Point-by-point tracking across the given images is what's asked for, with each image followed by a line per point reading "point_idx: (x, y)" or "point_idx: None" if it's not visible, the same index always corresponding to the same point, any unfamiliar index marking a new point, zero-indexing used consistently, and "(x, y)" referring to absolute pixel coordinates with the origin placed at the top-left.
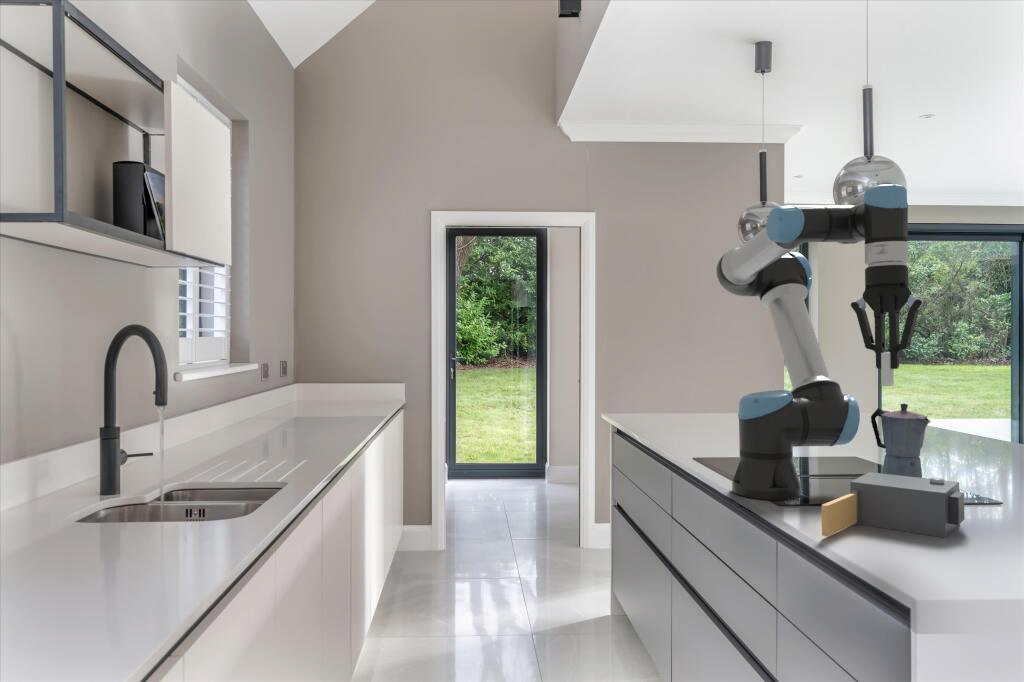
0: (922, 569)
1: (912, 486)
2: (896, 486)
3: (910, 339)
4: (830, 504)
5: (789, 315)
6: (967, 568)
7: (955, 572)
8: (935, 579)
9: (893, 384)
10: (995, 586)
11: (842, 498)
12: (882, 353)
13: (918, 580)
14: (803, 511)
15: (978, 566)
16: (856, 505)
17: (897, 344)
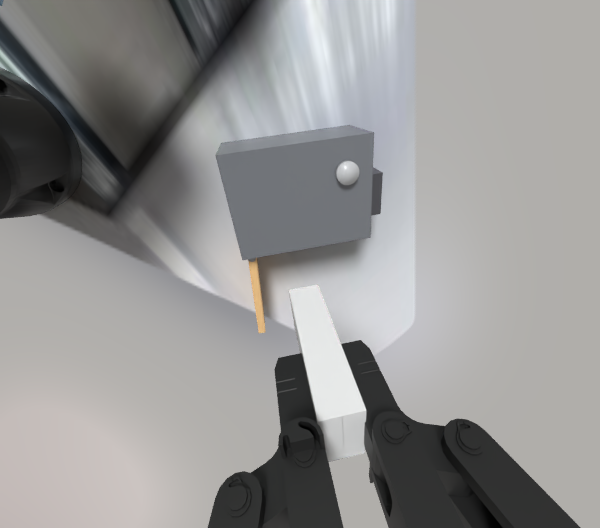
0: (355, 317)
1: (324, 227)
2: (306, 243)
3: (529, 499)
4: (264, 325)
5: None
6: (383, 292)
7: (377, 306)
8: (368, 328)
9: (319, 289)
10: (403, 313)
11: (258, 294)
12: (329, 457)
13: (359, 337)
14: (161, 222)
15: (389, 281)
16: None
17: (420, 472)
